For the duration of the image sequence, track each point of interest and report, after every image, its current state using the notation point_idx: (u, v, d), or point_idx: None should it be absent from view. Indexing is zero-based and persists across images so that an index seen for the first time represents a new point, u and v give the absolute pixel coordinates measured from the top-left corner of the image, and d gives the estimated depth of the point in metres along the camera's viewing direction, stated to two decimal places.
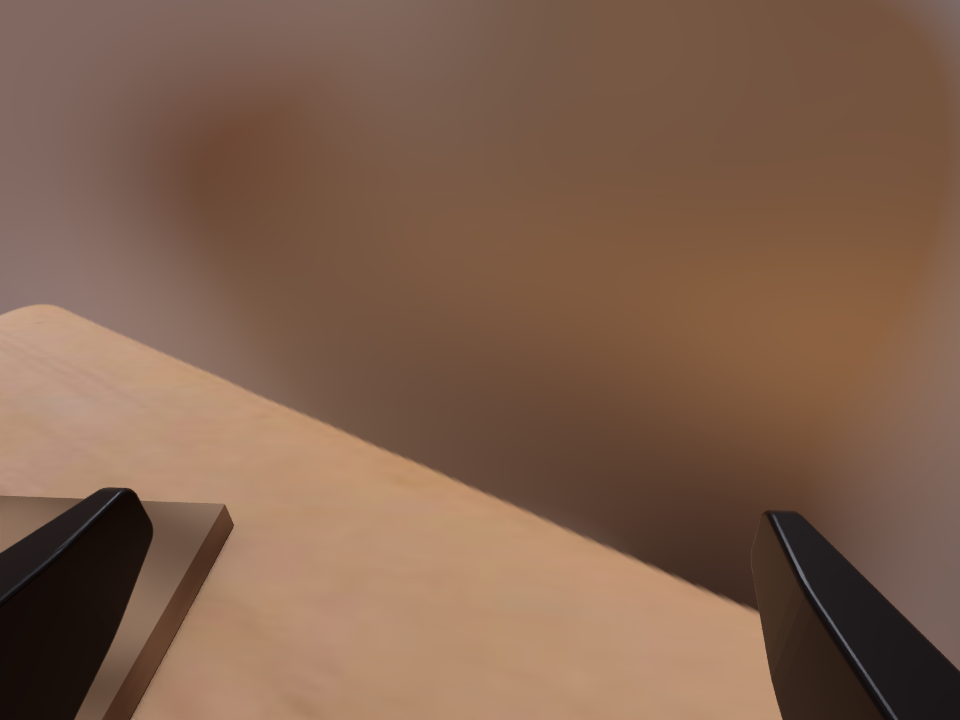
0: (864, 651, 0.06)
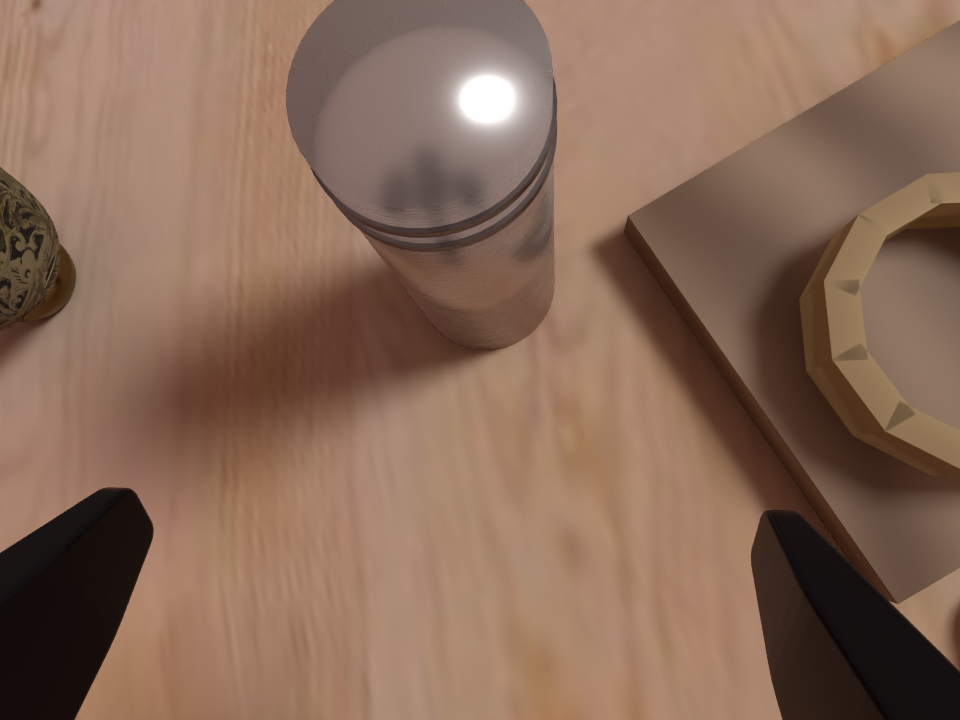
0: (864, 651, 0.06)
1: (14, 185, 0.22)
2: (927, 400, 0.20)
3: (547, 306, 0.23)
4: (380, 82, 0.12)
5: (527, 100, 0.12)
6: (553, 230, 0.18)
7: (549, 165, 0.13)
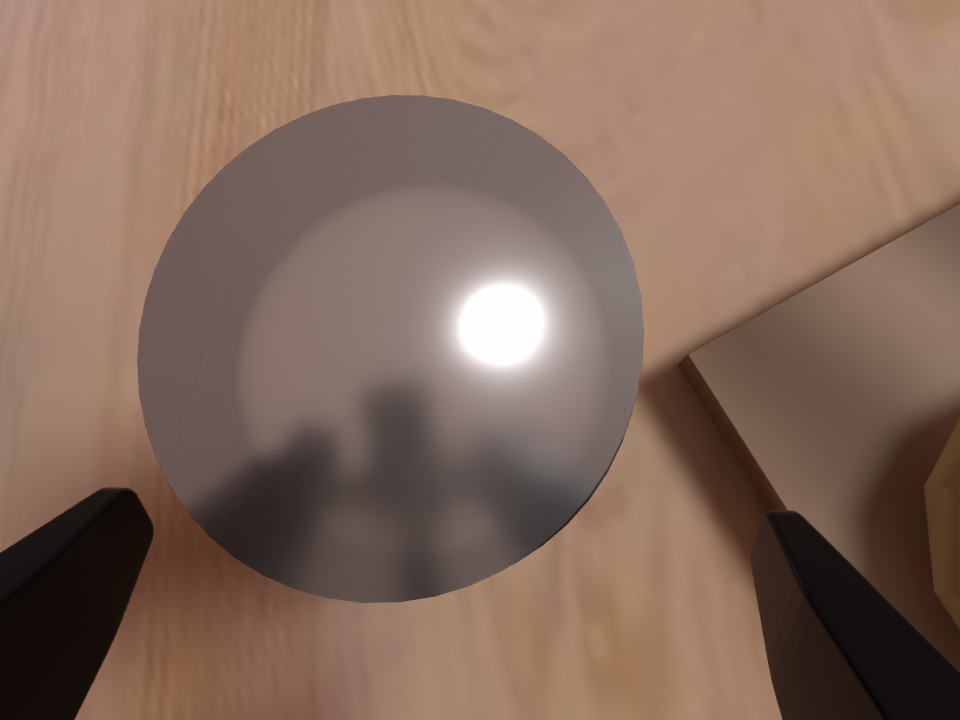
0: (864, 651, 0.06)
1: None
2: None
3: None
4: (312, 328, 0.06)
5: (593, 389, 0.06)
6: None
7: None
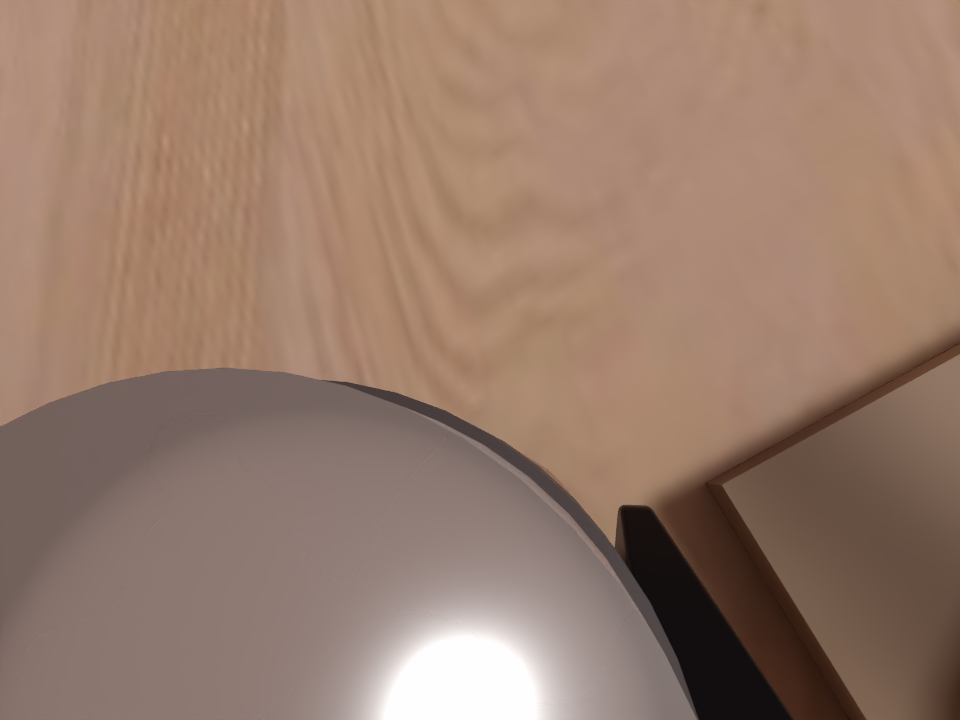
0: None
1: None
2: None
3: None
4: None
5: None
6: None
7: None
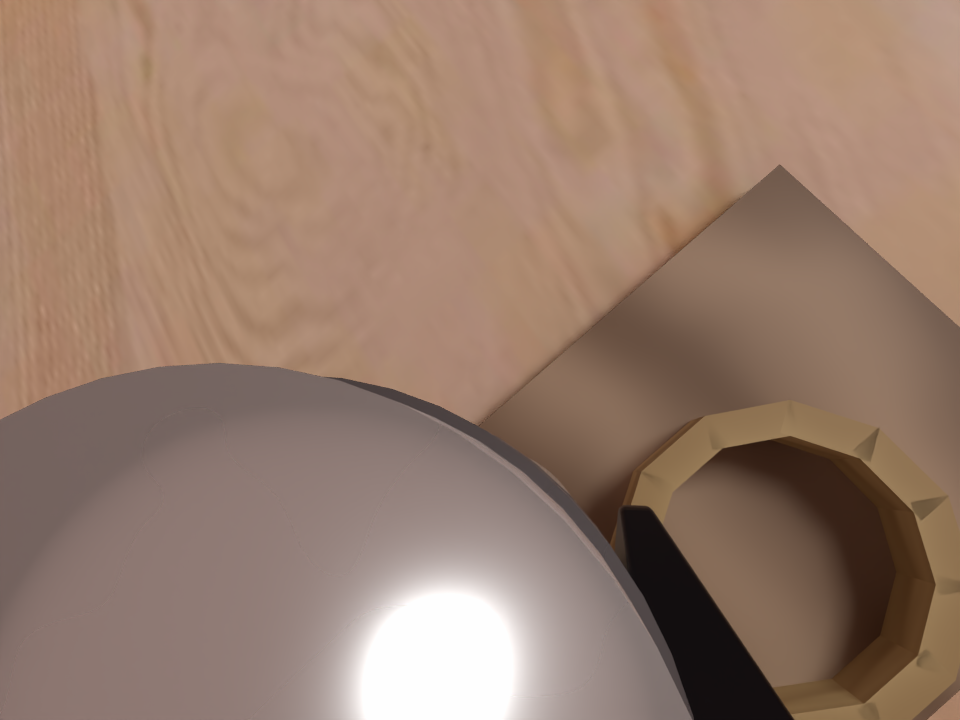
0: (668, 639, 0.06)
1: None
2: (751, 641, 0.19)
3: None
4: None
5: None
6: None
7: None
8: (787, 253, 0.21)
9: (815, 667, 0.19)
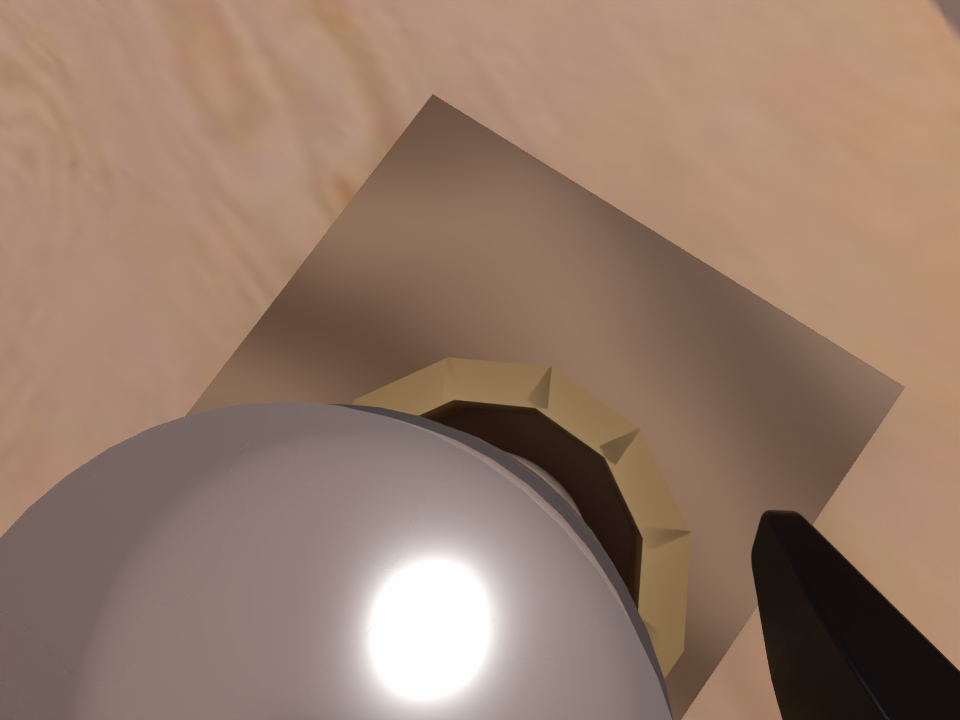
0: (864, 651, 0.06)
1: None
2: None
3: None
4: None
5: None
6: None
7: None
8: (456, 191, 0.18)
9: None
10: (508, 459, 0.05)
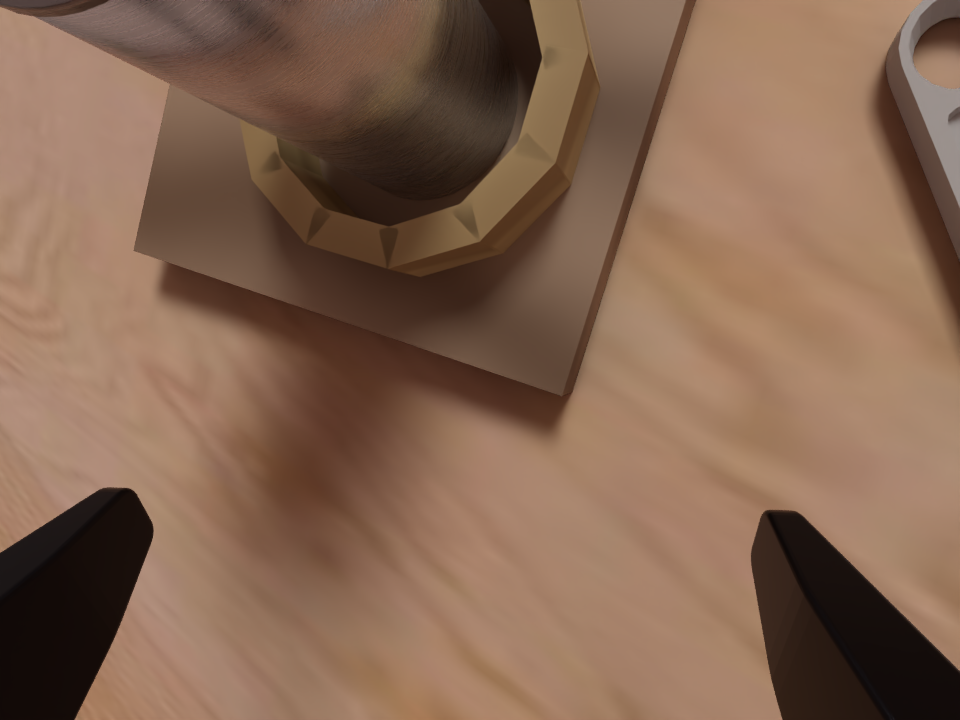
0: (864, 651, 0.06)
1: None
2: None
3: (510, 98, 0.16)
4: None
5: None
6: None
7: None
8: None
9: None
10: None
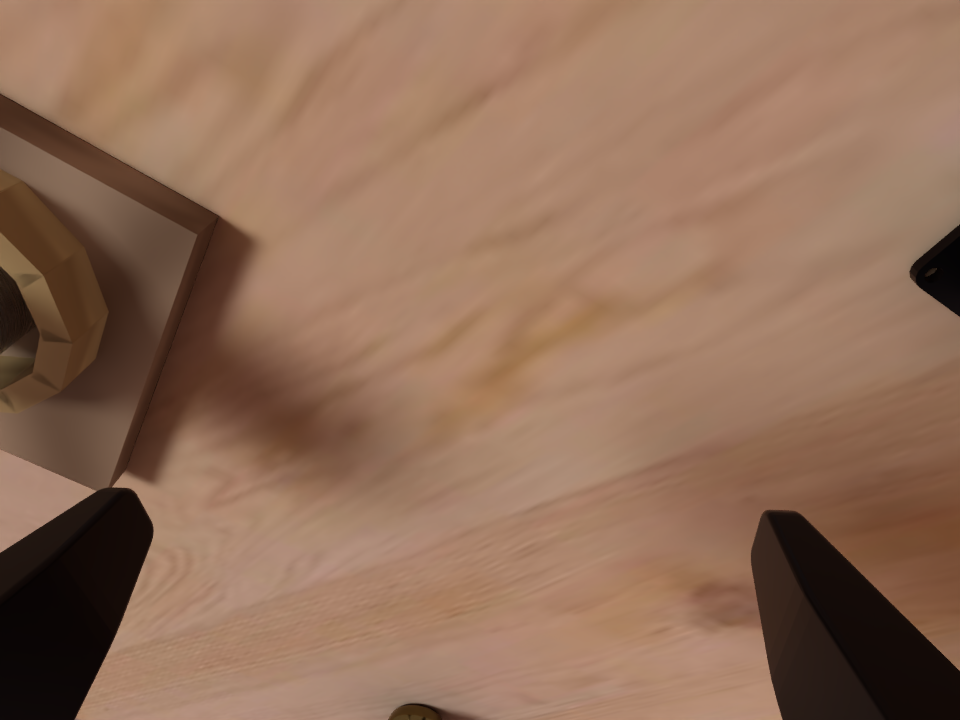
0: (864, 651, 0.06)
1: None
2: None
3: None
4: None
5: None
6: None
7: None
8: None
9: None
10: None
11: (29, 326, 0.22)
